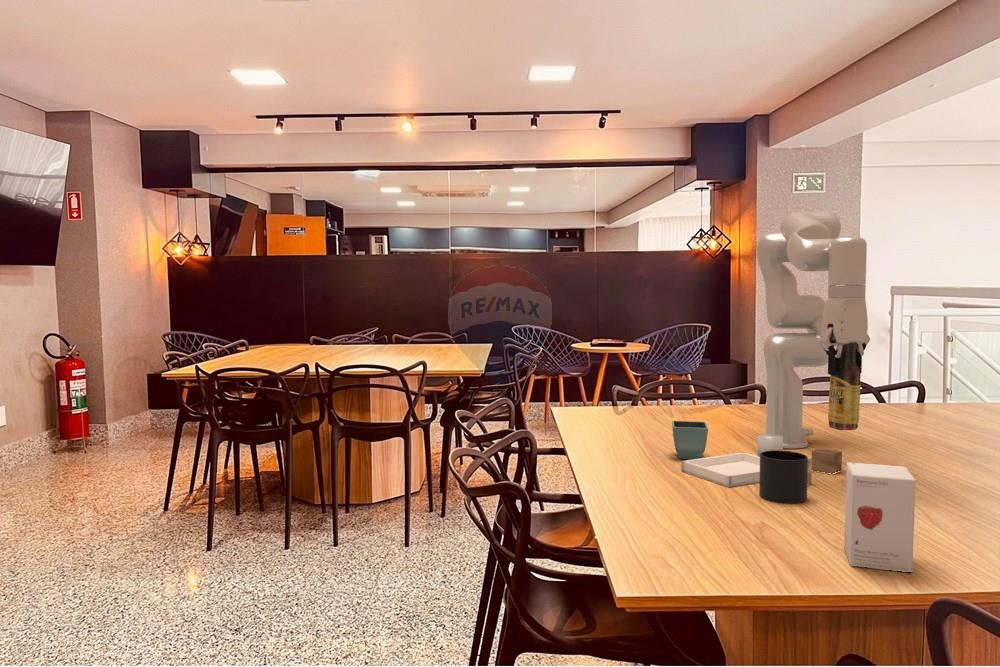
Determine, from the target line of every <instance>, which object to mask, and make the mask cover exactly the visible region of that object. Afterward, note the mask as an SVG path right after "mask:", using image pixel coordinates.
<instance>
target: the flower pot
mask: <svg viewBox="0 0 1000 667" xmlns="http://www.w3.org/2000/svg"><path fill="white" fill-rule="evenodd" d="M671 425H672V426H671V427H672V435H673V436H672V437H673V443H674V444H673V445H674V449H675V451H676V455H677V456H678V458H679V459H681V460H693V459H700V458H703V457H702V456H704V453H705V451H706V447H707V441H708V433H709V427H708V424H707V422H706V421H689V420H684V421H683V420H671Z"/></svg>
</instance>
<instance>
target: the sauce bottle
mask: <svg viewBox="0 0 1000 667" xmlns="http://www.w3.org/2000/svg"><path fill="white" fill-rule="evenodd" d="M856 348H857V342H849V343H848V344H846V345H843V348H842V352H841V355H840V357H839V358H842V375H841V376H836V375H829V388H828V389H829V391H828V395H829V396H828V410H827V411H828V412H827V416H828V417H827V420H828V427H829V428H830V429H833V430H834V429H835V430H838V431H855V430H857V429H858V427H859V425H858V424H859V421H860V419H859V418H860V401H861V400H860V399H861V377H862V376H861V374H862V373H860V370H859V368H858V366H857V364H856Z"/></svg>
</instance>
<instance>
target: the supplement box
mask: <svg viewBox="0 0 1000 667" xmlns="http://www.w3.org/2000/svg"><path fill="white" fill-rule="evenodd" d="M845 481H846V485H845V486H846V487H845V488H846V489H845V514H844V515H845V516H844V517H845V518H844V540H843V541H844V544H843V547H844V550H845V553H846V554H845V555H846V556H847V560H848V563H849V565H850V567H857V566H858V567H857V568H859V567H860V568H865V567H867V568H868V569H873V570H874V569H875V570H883V571H889V570H892V571H891V572H897V571H902V572H901V573H905V572H913V570H914V568H913V566H914V563H913V562H914V536H915V512H916V511H915V510H916V509H915V508H916V479H915V477H914V476H913V475H912V473H911V472H910V471H909V470H908V468H907V467H906V466H903V465H902V466H901V465H889V464H886V465H885V464H877V463H876V464H875V463H863V462H862V463H861V462H850V461H849V462H846V480H845ZM867 568H866V569H867Z"/></svg>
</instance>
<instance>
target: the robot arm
mask: <svg viewBox="0 0 1000 667" xmlns="http://www.w3.org/2000/svg"><path fill="white" fill-rule="evenodd" d="M779 228H780V229H779V230H780V231H779V232H778V231H777V232H771V233H766V234H764V235H762V236H761V237H760V238H759V239H758V241H757V243H756V244H757V246H756V259H757V263H758V266H759V269H760V273H761V275H762V278H763V280H764V290H765V305H766V317H767V321H768V324H769V326H770V327H772V328H775V329H781V330H792V329H793V330H795V329H796V330H807V332H780V333H773V334H770V335H769V336H768V337H766V339H765V340H764V342H763V356H764V362H765V374H766V406H765V407H766V410H765V411H766V412H765V413H766V414H765V416H766V417H765V424H766V425H765V426H766V427H765V429H766V430H765V434H777V435H781V436H783V449H791V450H792V449H803V448H807V447H808V446H809V441H808V440H806V439H805V438H806V436H807V437H809V436H813V435H814V430H813V429H812V428H804V427H803V412H804V411H803V406H804V402H803V401H804V400H803V398H804V395H803V394H804V386H803V385H804V384H803V381H802V379H801V377H800V376H799V374H798V373H797V371H796V370H795V368H819V367H824V366H826V365H827V374H828V375H829V376H830V375H836V376H841V375H842V358H839V357H840V355H841V352H842V348H843V345H846V344H848V343H849V342H857V348H856V364H857V366H858V368H859V370H860V373H861V374H862V372H863V369H862V367H863V365H862V364H863V356H864V355H865V350H866V348H867V347H868V346H867V345H868V344H869V343H870V341H871V338H870V336H869V334H868V330H869V329H868V326H869V322H868V320H869V319H868V308H867V300H866V296H867V295H866V293H867V292H866V290H867V288H866V287H867V283H866V282H867V251H868V249H867V248H868V246H867V245H868V244H867V243H868V242H867V241H866V240H865V238H863V237H858V236H857V237H855V236H854V237H853V236H852V237H851V236H850V237H840V235H841V228H842V225H841V221H840V217H839V216H838V215H837V214H836V213H834V212H833V211H831V210H808V211H807V210H805V211H804V210H802V211H793V212H791V213H789V214H787V215H786V216H784V218H783V219H782V220H781V221H780V227H779ZM784 263H790V264H791V265H792V266H793V267H794V268H796V269H797V270H799V271H802V272H828V276H827V278H828V279H827V280H828V282H827V284H828V286H827V299H826V300H824V299H823V298H822V297H820V296H819V295H814V294H813V295H811V294H810V295H809V294H807V295H804V294H803V295H800V294H799V291H798V280H797V278H796V276H795V274H794V273H793V272H792V270H791V269H790V268H788V267H787V265H786V264H784Z"/></svg>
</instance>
